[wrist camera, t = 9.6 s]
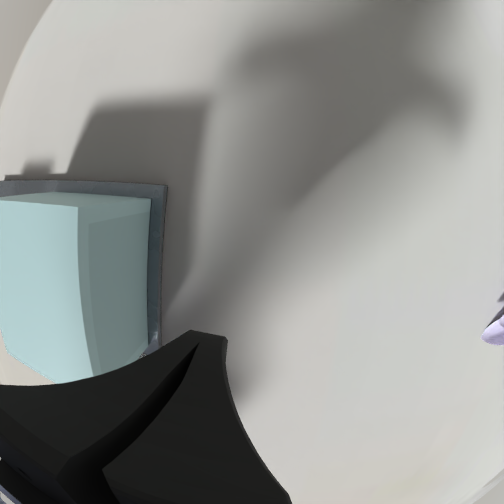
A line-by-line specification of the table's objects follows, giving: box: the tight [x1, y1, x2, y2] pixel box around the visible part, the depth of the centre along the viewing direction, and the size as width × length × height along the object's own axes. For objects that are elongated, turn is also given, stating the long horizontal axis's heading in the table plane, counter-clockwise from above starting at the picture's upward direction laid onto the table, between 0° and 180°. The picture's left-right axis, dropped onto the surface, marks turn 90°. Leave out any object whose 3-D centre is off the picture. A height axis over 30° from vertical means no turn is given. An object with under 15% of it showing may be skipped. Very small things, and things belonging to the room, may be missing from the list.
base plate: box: [0, 180, 168, 355], centre depth 15 cm, size 17×11×4 cm, turn 82°
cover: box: [0, 192, 151, 384], centre depth 13 cm, size 8×9×6 cm
